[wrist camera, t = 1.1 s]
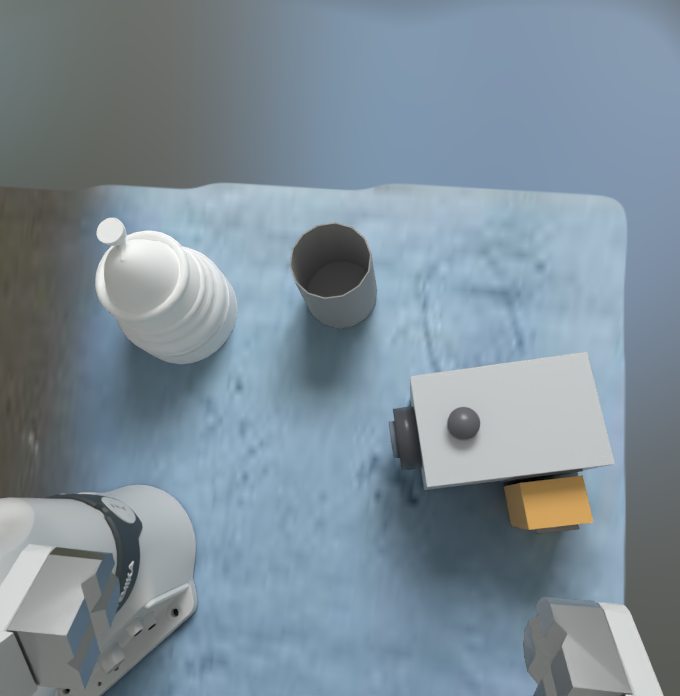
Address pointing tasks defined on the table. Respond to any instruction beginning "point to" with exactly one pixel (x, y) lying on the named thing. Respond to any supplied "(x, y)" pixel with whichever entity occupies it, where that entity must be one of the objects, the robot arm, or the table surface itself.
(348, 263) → the cup
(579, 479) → the tan box with label
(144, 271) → the honey pot
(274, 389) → the table surface
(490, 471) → the camera housing
